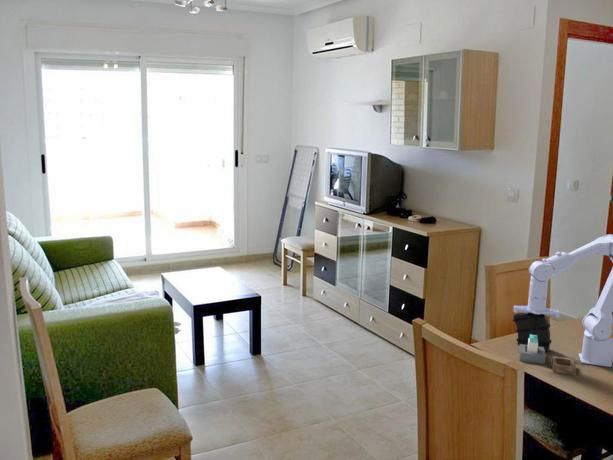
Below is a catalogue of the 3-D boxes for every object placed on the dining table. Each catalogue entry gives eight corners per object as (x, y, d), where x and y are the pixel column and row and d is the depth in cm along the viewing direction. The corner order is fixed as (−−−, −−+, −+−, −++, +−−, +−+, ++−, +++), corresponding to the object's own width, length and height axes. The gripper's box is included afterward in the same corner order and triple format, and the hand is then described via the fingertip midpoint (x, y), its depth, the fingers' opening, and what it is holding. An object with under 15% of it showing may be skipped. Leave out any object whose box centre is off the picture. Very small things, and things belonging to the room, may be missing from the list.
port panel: (543, 355, 203) (543, 347, 202) (544, 364, 195) (545, 355, 195) (519, 351, 205) (519, 344, 205) (519, 360, 198) (520, 352, 197)
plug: (535, 356, 202) (537, 335, 200) (536, 360, 198) (538, 339, 196) (526, 355, 203) (528, 333, 201) (527, 359, 199) (529, 337, 197)
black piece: (557, 350, 203) (541, 310, 204) (521, 356, 211) (506, 318, 212) (559, 346, 206) (544, 307, 207) (524, 353, 214) (510, 315, 215)
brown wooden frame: (572, 365, 194) (573, 358, 194) (574, 375, 187) (575, 368, 187) (551, 362, 196) (551, 356, 196) (553, 372, 189) (553, 365, 189)
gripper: (515, 297, 194) (511, 335, 197) (561, 302, 190) (557, 341, 193) (514, 291, 201) (511, 328, 204) (559, 296, 197) (555, 333, 199)
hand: (533, 334), depth 199 cm, fingers closed
